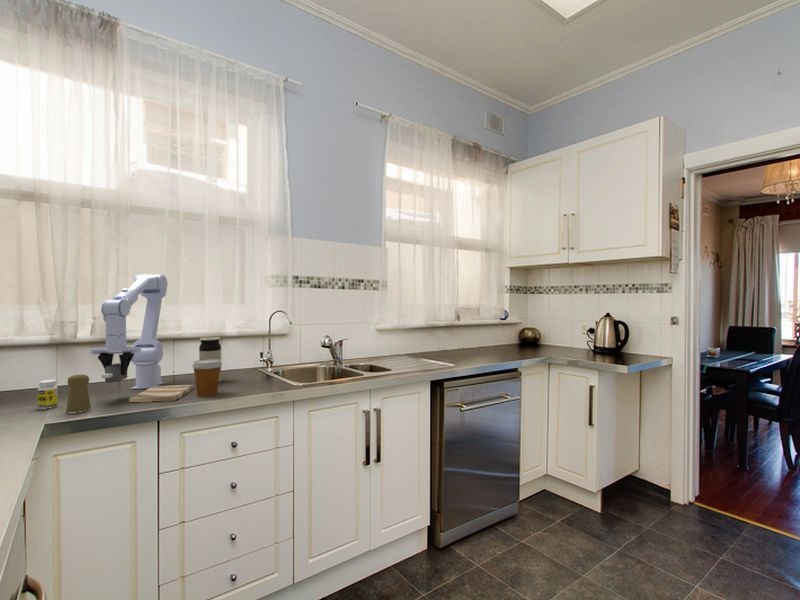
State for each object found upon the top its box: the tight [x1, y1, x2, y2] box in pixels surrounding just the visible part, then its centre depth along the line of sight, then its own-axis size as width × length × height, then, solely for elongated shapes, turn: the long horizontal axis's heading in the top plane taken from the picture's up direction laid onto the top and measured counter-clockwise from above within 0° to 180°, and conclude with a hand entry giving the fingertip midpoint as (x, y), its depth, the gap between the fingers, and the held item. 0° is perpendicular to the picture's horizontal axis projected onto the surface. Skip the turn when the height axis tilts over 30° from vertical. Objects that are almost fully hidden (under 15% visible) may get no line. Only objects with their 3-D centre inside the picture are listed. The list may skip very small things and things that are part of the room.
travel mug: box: [198, 336, 222, 383], centre depth 163 cm, size 8×8×18 cm
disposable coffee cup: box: [191, 359, 223, 397], centre depth 142 cm, size 10×10×12 cm
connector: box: [101, 362, 128, 384], centre depth 135 cm, size 11×4×5 cm, turn 10°
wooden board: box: [129, 384, 195, 403], centre depth 142 cm, size 18×14×2 cm
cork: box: [65, 373, 92, 413], centre depth 123 cm, size 6×6×11 cm
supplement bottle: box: [37, 379, 59, 410], centre depth 127 cm, size 5×5×8 cm
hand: (116, 374), depth 136 cm, fingers closed on connector, 4 cm apart
